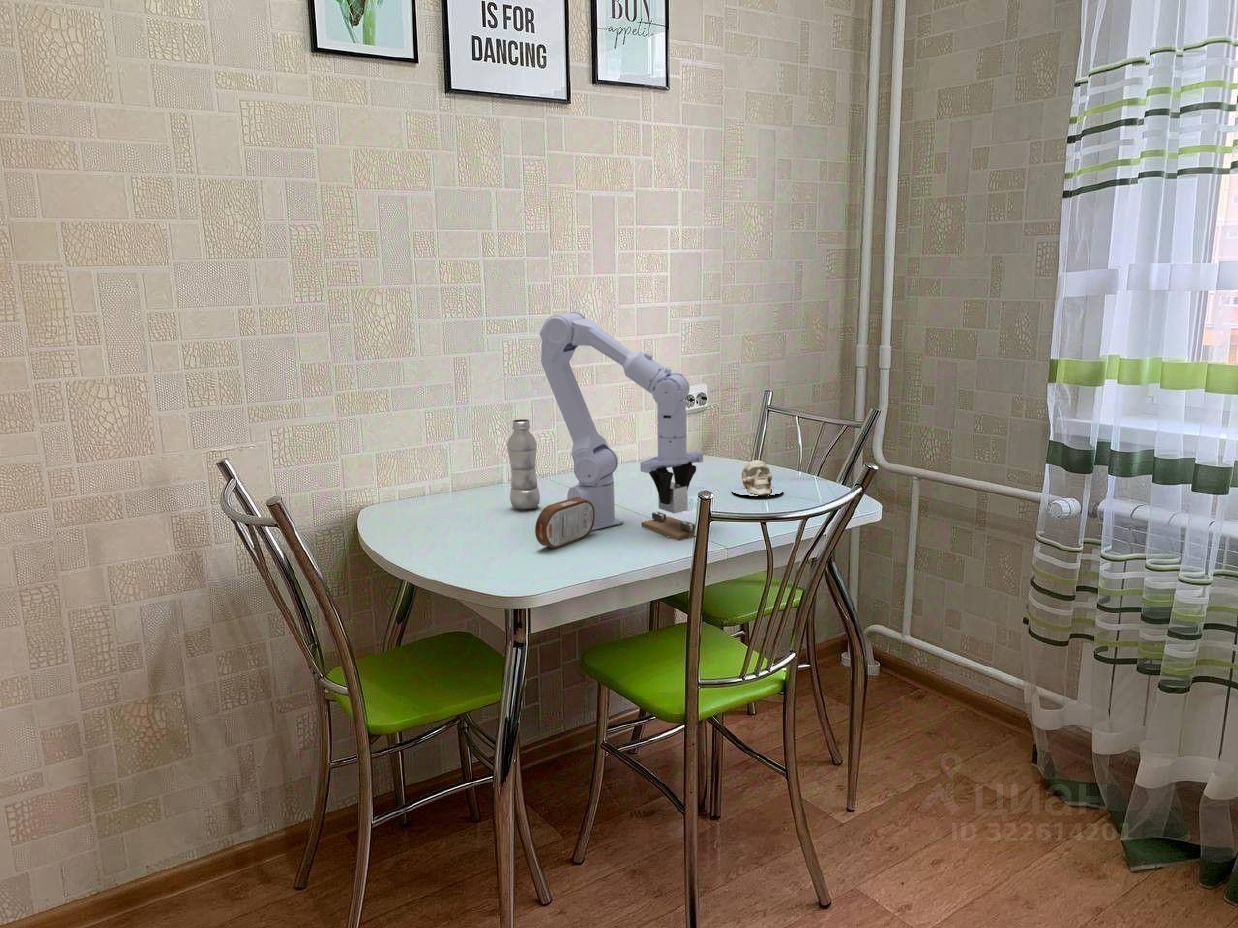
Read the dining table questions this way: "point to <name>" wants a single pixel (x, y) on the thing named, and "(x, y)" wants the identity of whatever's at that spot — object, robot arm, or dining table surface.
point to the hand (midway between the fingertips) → (672, 501)
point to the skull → (757, 478)
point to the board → (668, 528)
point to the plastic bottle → (523, 466)
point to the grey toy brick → (676, 499)
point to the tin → (564, 522)
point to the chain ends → (683, 525)
